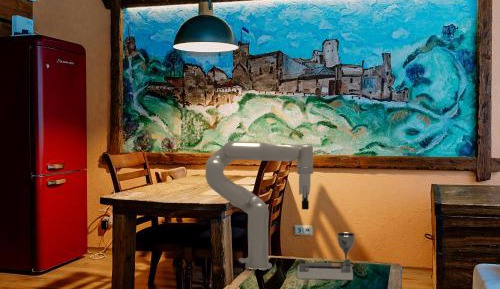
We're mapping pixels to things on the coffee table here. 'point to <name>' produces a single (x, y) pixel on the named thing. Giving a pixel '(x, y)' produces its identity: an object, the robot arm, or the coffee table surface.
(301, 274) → the grey flat base
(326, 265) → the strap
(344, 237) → the wine glass
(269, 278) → the coffee table surface
